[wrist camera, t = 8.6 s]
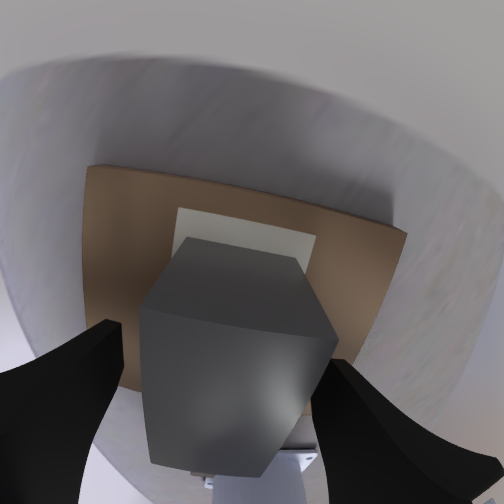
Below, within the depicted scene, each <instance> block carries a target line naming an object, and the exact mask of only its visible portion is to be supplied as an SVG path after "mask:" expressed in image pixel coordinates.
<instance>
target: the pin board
mask: <svg viewBox="0 0 504 504" xmlns="http://www.w3.org/2000/svg"><path fill="white" fill-rule="evenodd" d="M407 234H408V233H406V232H404V231H402V230H400V229H398V228H396V227H394V226H391V225H387V224H384V223H381V222H378V221H374V220H371V219H368V218H364V217H361V216H357V215H354V214H350V213H346V212H343V211H339V210H335V209H332V208H328V207H324V206H320V205H316V204H312V203H309V202H305V201H300V200H296V199H292V198H288V197H284V196H279V195H275V194H271V193H266V192H262V191H257V190H252V189H248V188H243V187H238V186H233V185H228V184H223V183H218V182H213V181H207V180H202V179H196V178H190V177H185V176H179V175H172V174H166V173H160V172H153V171H146V170H139V169H131V168H124V167H116V166H107V165H94V166H88V168H87V176H86V185H85V195H84V208H83V229H82V270H83V290H84V303H85V314H86V323H87V330H88V329H89V328H91V327H93V326H94V325H96V324H97V323H99V322H101V321H103V320H104V319H109V320H113V321H116V322H120V323H122V340H123V354H124V369H123V372H122V375H121V378H120V381H119V384H118V386H121V387H124V388H128V389H131V390H135V391H138V392H142V386H141V369H140V338H139V313H140V305H141V304H142V302H143V301H144V299H145V298H146V296H147V295H148V293H149V291H150V290H151V288H152V287H153V285H154V284H155V282H156V281H157V279H158V278H159V276H160V275H161V273H162V272H163V270H164V269H165V267H166V266H167V264H168V263H169V261H170V260H171V258H172V257H173V256H174V254H175V253H176V251H177V250H178V248H179V247H180V246H181V244H182V243H183V241H184V240H185V238H186V237H192V238H197V239H202V240H208V241H213V242H218V243H223V244H228V245H233V246H238V247H243V248H248V249H253V250H259V251H264V252H269V253H274V254H279V255H284V256H289V257H294V258H296V259H297V261H298V263H299V265H300V267H301V268H302V270H303V272H304V274H305V276H306V277H307V279H308V281H309V283H310V285H311V287H312V289H313V290H314V292H315V294H316V296H317V298H318V300H319V302H320V303H321V305H322V307H323V309H324V311H325V313H326V315H327V317H328V319H329V320H330V322H331V324H332V326H333V328H334V330H335V332H336V334H337V336H338V338H339V342H338V344H337V346H336V349H335V351H334V353H333V355H332V357H331V358H334V359H345V360H346V361H347V362H348V363H349V364H350V365H351V366H352V364H353V363H354V361H355V359H356V357H357V355H358V353H359V351H360V349H361V347H362V345H363V343H364V341H365V339H366V337H367V335H368V333H369V331H370V329H371V327H372V324H373V322H374V320H375V318H376V316H377V313H378V311H379V309H380V307H381V304H382V302H383V300H384V297H385V295H386V292H387V290H388V287H389V285H390V282H391V280H392V277H393V274H394V272H395V269H396V266H397V264H398V261H399V258H400V255H401V252H402V249H403V246H404V243H405V240H406V237H407ZM301 415H312V411H311V402H310V400H309V402H308V403H307V405H306V407H305V409H304V410H303V412H302V414H301Z"/></svg>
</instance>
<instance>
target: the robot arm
mask: <svg viewBox="0 0 504 504" xmlns="http://www.w3.org/2000/svg"><path fill="white" fill-rule="evenodd" d="M123 369H124V354H123V340H122V323H120V322H116V321H113V320H109V319H104V320H103V321H101V322H99V323H97V324H96V325H94V326H93V327H91V328H89V329H88V330H86V331H84V332H83V333H81V334H80V335H78V336H76V337H75V338H73V339H71V340H70V341H68V342H66V343H65V344H63V345H61V346H59V347H57V348H56V349H54V350H52V351H50V352H48V353H46V354H44V355H42V356H41V357H39V358H37V359H35V360H33V361H30V362H28V363H26V364H24V365H21V366H19V367H16V368H14V369H11V370H8V371H5V372H2V373H0V504H78V500H79V494H80V487H81V482H82V477H83V473H84V469H85V465H86V461H87V457H88V454H89V450H90V447H91V444H92V441H93V439H94V436H95V434H96V432H97V430H98V427H99V425H100V423H101V421H102V419H103V417H104V415H105V413H106V411H107V409H108V406H109V404H110V402H111V400H112V398H113V396H114V394H115V392H116V390H117V387H118V384H119V381H120V378H121V375H122V372H123ZM310 402H311V411H312V419H313V424H314V428H315V431H316V435H317V439H318V443H319V447H320V451H321V454H322V458H323V462H324V466H325V471H326V476H327V484H328V493H329V504H472V500H474V499H475V498H477V497H478V496H479V495H481V494H482V493H483V492H485V491H486V490H487V489H489V488H490V487H491V486H492V485H493V484H495V483H496V482H497V481H498V480H500V479H501V478H502V477H503V476H504V468H503V467H502V465H501V463H500V462H499V460H498V459H497V458H496V457H491V456H487V455H483V454H479V453H475V452H472V451H469V450H466V449H464V448H461V447H458V446H457V445H454V444H452V443H450V442H448V441H446V440H444V439H442V438H440V437H438V436H436V435H435V434H433V433H431V432H430V431H428V430H426V429H425V428H423V427H422V426H420V425H419V424H417V423H416V422H414V421H413V420H412V419H410V418H409V417H408V416H406V415H405V414H404V413H403V412H401V411H400V410H399V409H398V408H397V407H395V406H394V405H393V404H392V403H391V402H390V401H389V400H387V399H386V398H385V397H384V396H383V395H382V394H381V393H380V392H379V391H378V390H377V389H375V388H374V387H373V386H372V385H371V384H370V383H369V382H368V381H367V380H366V379H365V378H364V377H363V376H362V375H361V374H360V373H359V372H358V371H357V370H356V369H355V368H354V367H353V366H351V365H350V364H349V363H348V362H347V361H346V360H345V359H334V358H331V359H330V361H329V363H328V365H327V367H326V369H325V371H324V373H323V375H322V377H321V379H320V381H319V383H318V385H317V387H316V389H315V391H314V392H313V394H312V396H311V398H310ZM317 455H318V452H317V450H315V449H310V450H279V451H278V453H277V454H276V456H275V457H274V459H273V460H272V461H271V463H270V464H269V466H268V467H267V469H266V470H265V472H264V473H263V474H262V476H261V477H260V478H251V477H234V476H223V475H215V477H214V478H207V477H206V479H205V482H204V487H206V488H211V489H213V497H212V504H307V500H306V495H305V489H304V483H303V478H302V472H303V471H304V470H305V468H306V467H307V466H308V465H309V464H310V463H311V462H312V461H313V460H314V458H315V457H316V456H317ZM484 504H495V501H494V499H493V498H491V499H489V500H488V501H487V502H485V503H484Z"/></svg>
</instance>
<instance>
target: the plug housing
mask: <svg viewBox="0 0 504 504" xmlns="http://www.w3.org/2000/svg"><path fill="white" fill-rule="evenodd" d="M139 338H140V369H141V386H142V399H143V409H144V419H145V427H146V435H147V442H148V449H149V455H150V461H151V463H153V464H157V465H162V466H166V467H171V468H176V469H181V470H186V471H191V475H193V476H200V477H207V478H214V477H215V475H223V476H234V477H251V478H260V477H261V476H262V474H263V473H264V472H265V470H266V469H267V467H268V466H269V464H270V463H271V461H272V460H273V459H274V457H275V456H276V454H277V453H278V451H279V450H280V448H281V447H282V445H283V443H284V442H285V440H286V439H287V437H288V435H289V434H290V432H291V431H292V429H293V427H294V426H295V424H296V422H297V421H298V419H299V417H300V416H301V414H302V412H303V410H304V409H305V407H306V405H307V403H308V402H309V400H310V398H311V396H312V394H313V392H314V391H315V389H316V387H317V385H318V383H319V381H320V379H321V377H322V375H323V373H324V371H325V369H326V367H327V365H328V363H329V361H330V359H331V357H332V355H333V353H334V351H335V349H336V346H337V344H338V342H339V338H338V336H337V334H336V332H335V330H334V328H333V326H332V324H331V322H330V320H329V319H328V317H327V315H326V313H325V311H324V309H323V307H322V305H321V303H320V302H319V300H318V298H317V296H316V294H315V292H314V290H313V289H312V287H311V285H310V283H309V281H308V279H307V277H306V276H305V274H304V272H303V270H302V268H301V267H300V265H299V263H298V261H297V259H296V258H294V257H289V256H284V255H279V254H274V253H269V252H264V251H259V250H253V249H248V248H243V247H238V246H233V245H228V244H223V243H218V242H213V241H208V240H202V239H197V238H192V237H186V238H185V240H184V241H183V243H182V244H181V246H180V247H179V248H178V250H177V251H176V253H175V254H174V256H173V257H172V258H171V260H170V261H169V263H168V264H167V266H166V267H165V269H164V270H163V272H162V273H161V275H160V276H159V278H158V279H157V281H156V282H155V284H154V285H153V287H152V288H151V290H150V291H149V293H148V295H147V296H146V298H145V299H144V301H143V302H142V304H141V305H140V313H139Z"/></svg>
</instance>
